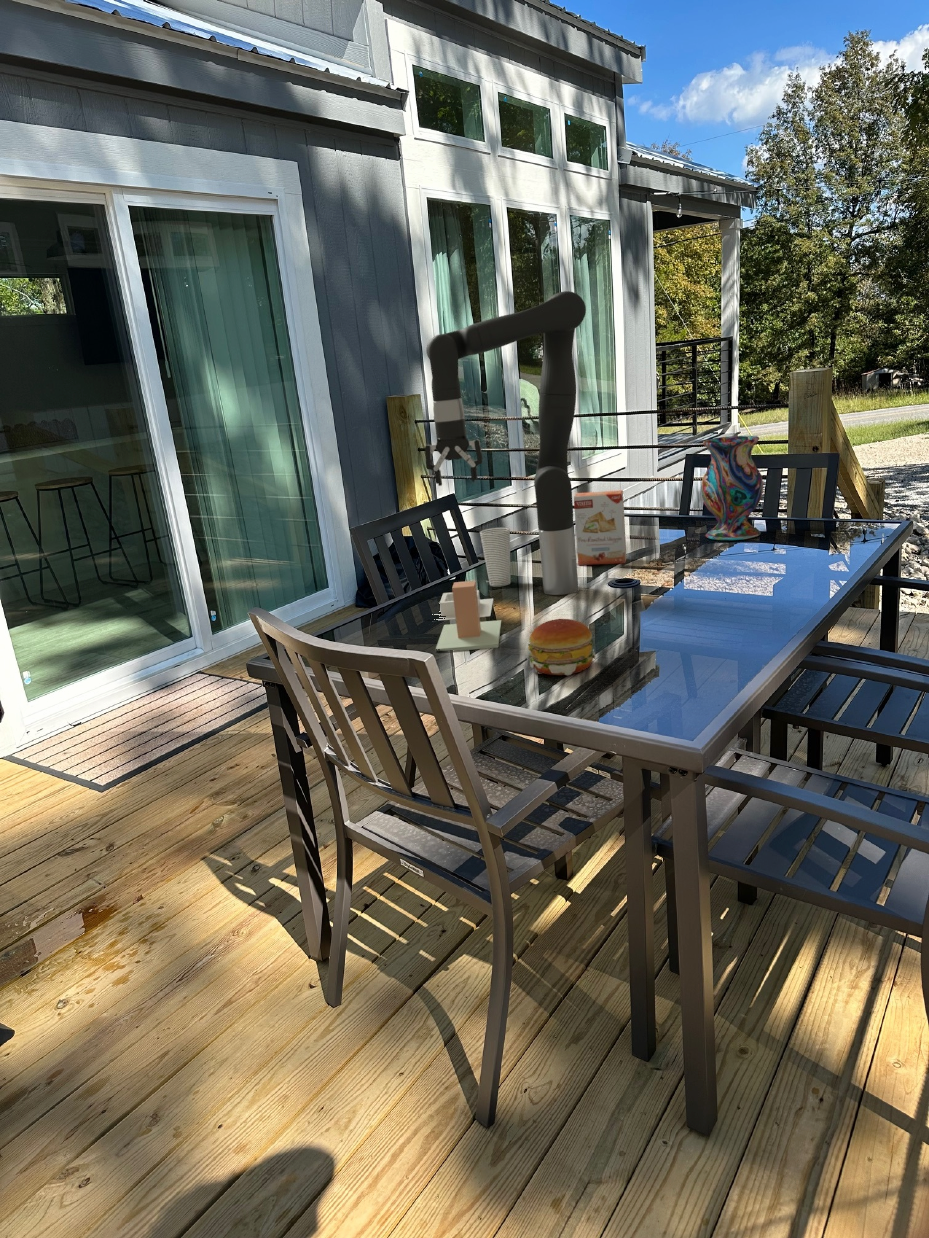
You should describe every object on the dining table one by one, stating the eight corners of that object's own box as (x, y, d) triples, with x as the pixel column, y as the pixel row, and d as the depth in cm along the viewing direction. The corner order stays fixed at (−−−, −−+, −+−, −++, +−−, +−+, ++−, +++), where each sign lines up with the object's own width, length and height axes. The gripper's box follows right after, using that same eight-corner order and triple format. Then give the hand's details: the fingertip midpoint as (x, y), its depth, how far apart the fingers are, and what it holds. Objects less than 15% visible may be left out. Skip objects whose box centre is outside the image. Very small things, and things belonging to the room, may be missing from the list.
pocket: (493, 600, 228) (492, 585, 227) (490, 618, 213) (488, 602, 212) (434, 605, 230) (432, 591, 229) (426, 623, 215) (424, 607, 214)
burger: (590, 653, 181) (587, 608, 178) (602, 675, 168) (599, 627, 165) (527, 661, 181) (522, 615, 178) (534, 684, 168) (529, 635, 165)
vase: (690, 537, 274) (687, 442, 266) (735, 527, 281) (733, 434, 273) (730, 545, 258) (727, 444, 250) (776, 534, 265) (776, 435, 257)
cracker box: (577, 566, 254) (572, 496, 248) (580, 561, 260) (575, 492, 254) (625, 563, 251) (621, 492, 245) (627, 558, 256) (623, 489, 250)
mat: (501, 623, 208) (501, 620, 208) (498, 647, 191) (497, 644, 191) (444, 628, 210) (444, 624, 209) (436, 652, 192) (435, 649, 192)
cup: (512, 587, 240) (507, 532, 235) (482, 588, 241) (476, 534, 237) (516, 579, 247) (511, 526, 243) (488, 581, 249) (482, 528, 245)
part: (481, 629, 202) (475, 580, 199) (479, 636, 198) (474, 586, 194) (460, 631, 203) (454, 582, 199) (458, 638, 198) (452, 588, 195)
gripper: (478, 414, 216) (485, 478, 221) (423, 420, 218) (431, 484, 222) (476, 416, 209) (483, 483, 214) (419, 423, 211) (427, 488, 215)
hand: (456, 483), depth 218 cm, fingers open, 8 cm apart
